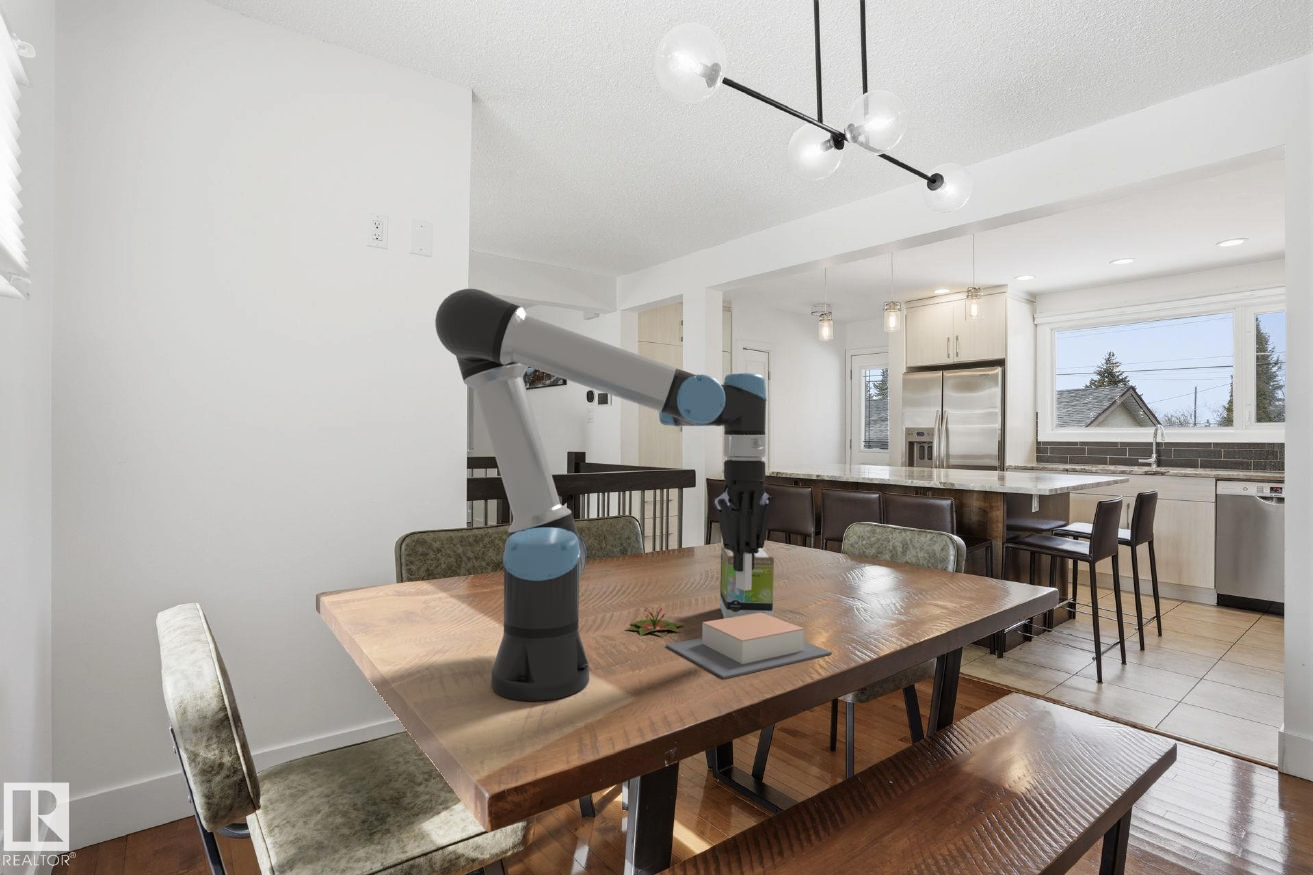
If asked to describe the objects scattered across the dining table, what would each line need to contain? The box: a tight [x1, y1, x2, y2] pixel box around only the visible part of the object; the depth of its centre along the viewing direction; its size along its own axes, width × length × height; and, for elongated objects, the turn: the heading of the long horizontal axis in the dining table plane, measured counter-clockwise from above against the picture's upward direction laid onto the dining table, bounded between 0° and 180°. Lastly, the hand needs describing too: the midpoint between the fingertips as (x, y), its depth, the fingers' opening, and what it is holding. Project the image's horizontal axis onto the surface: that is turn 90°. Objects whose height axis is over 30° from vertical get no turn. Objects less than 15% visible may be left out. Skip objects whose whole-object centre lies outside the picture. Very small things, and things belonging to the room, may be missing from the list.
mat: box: [665, 637, 833, 680], centre depth 113 cm, size 24×18×1 cm
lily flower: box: [624, 607, 683, 638], centre depth 127 cm, size 12×12×5 cm
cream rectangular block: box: [701, 613, 805, 664], centre depth 114 cm, size 4×12×14 cm
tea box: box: [719, 544, 775, 619], centre depth 135 cm, size 15×10×15 cm
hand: (743, 588), depth 113 cm, fingers closed
